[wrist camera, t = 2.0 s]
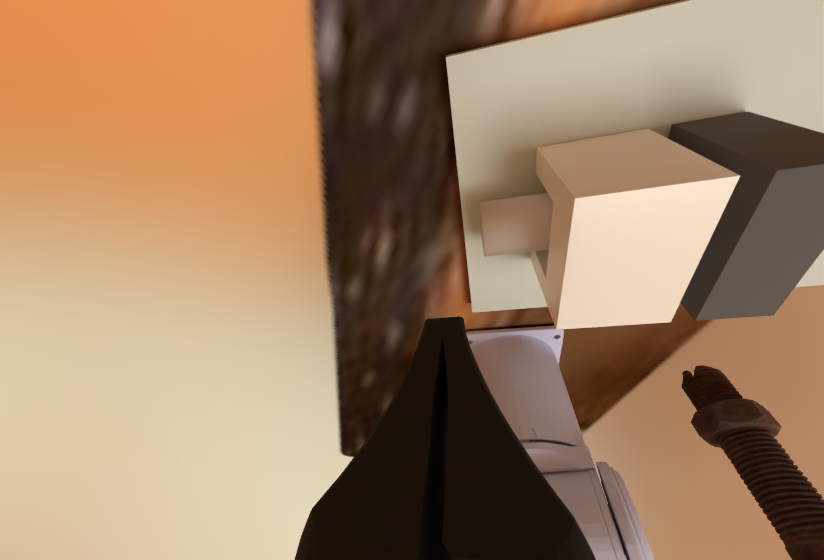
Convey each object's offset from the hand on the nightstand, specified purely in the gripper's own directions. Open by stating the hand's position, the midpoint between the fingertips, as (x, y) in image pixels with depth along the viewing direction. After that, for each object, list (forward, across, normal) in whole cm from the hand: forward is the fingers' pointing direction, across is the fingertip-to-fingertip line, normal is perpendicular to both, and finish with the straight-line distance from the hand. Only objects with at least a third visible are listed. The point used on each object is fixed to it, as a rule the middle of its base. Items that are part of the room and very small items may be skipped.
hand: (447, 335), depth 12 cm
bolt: (+10, -20, +19) cm, 29 cm away
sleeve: (+9, -8, 0) cm, 12 cm away
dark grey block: (+9, -12, 0) cm, 15 cm away
